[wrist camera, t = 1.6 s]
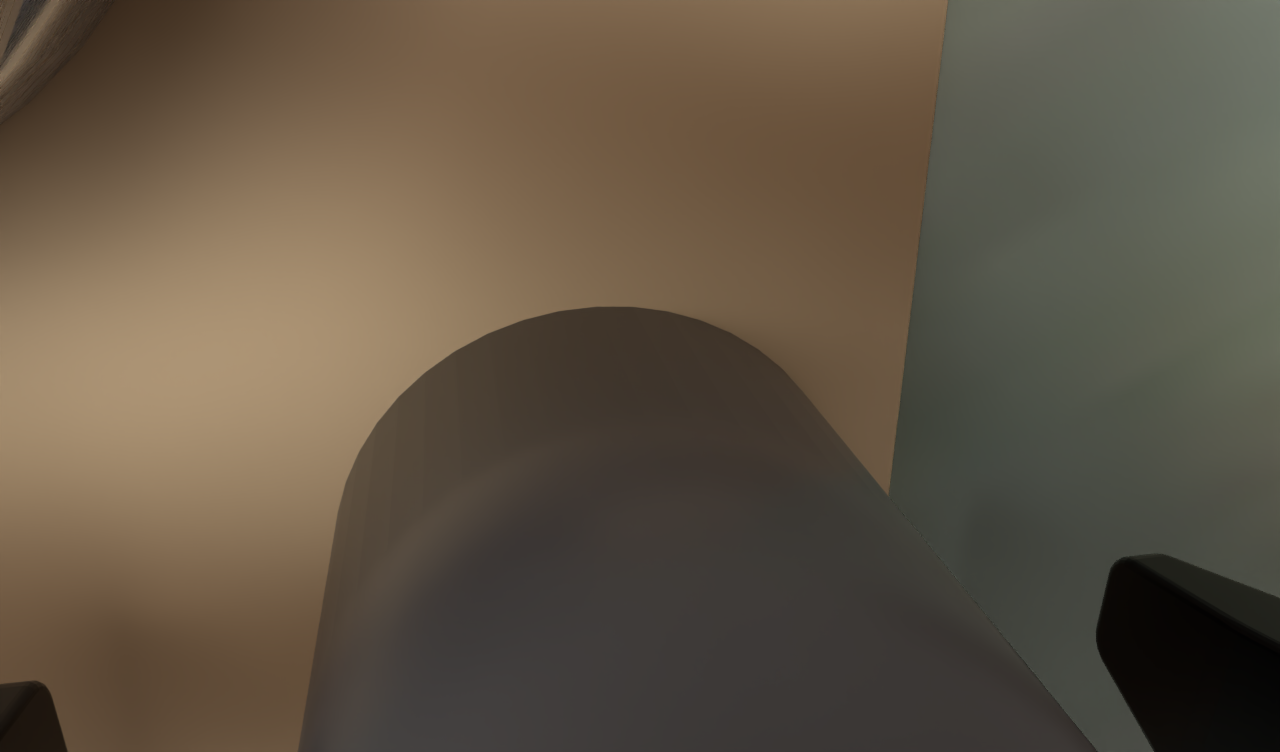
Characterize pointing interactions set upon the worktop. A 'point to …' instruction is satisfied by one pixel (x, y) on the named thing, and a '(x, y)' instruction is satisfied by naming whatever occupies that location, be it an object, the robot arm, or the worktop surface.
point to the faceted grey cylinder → (40, 44)
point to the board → (392, 284)
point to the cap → (643, 567)
